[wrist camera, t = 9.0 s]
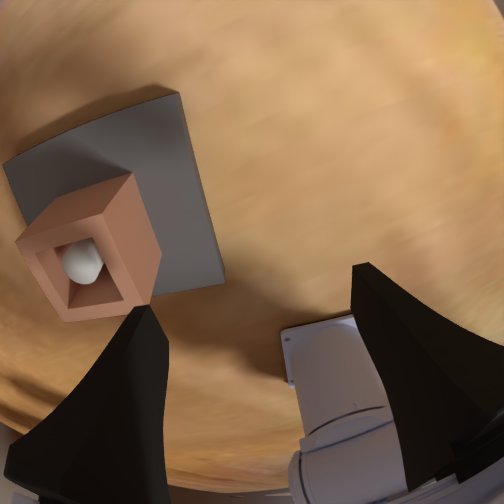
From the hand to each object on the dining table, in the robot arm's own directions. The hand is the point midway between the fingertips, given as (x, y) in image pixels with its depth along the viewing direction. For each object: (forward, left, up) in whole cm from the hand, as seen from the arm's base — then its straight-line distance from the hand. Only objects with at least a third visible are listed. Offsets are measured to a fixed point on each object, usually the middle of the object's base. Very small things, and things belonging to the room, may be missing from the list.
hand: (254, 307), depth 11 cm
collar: (+1, +8, -8) cm, 11 cm away
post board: (+1, +8, -9) cm, 12 cm away
